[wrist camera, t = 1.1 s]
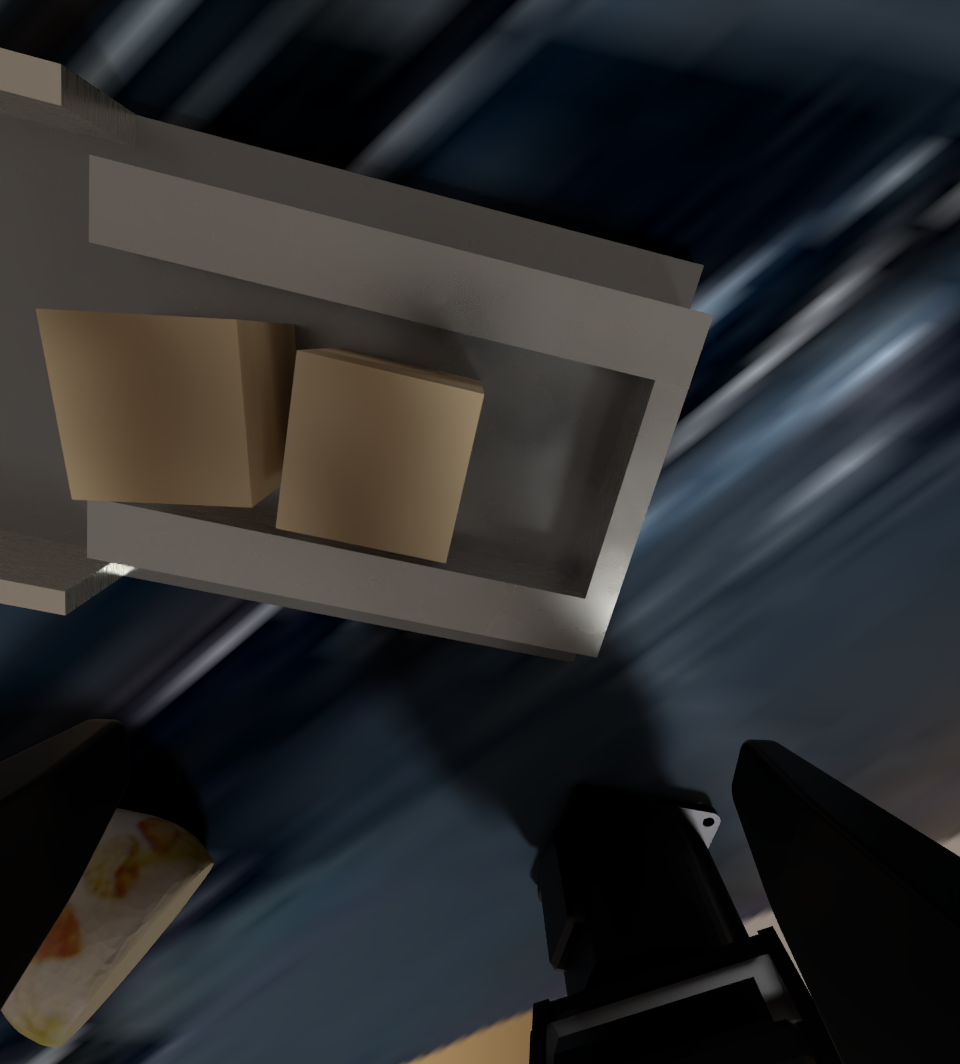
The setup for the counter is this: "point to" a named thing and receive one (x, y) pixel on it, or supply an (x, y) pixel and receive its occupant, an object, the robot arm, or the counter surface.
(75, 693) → the counter surface
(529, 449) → the rail board
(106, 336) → the chip
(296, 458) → the chip
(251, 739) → the counter surface
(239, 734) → the counter surface
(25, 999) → the cream ceramic pitcher
